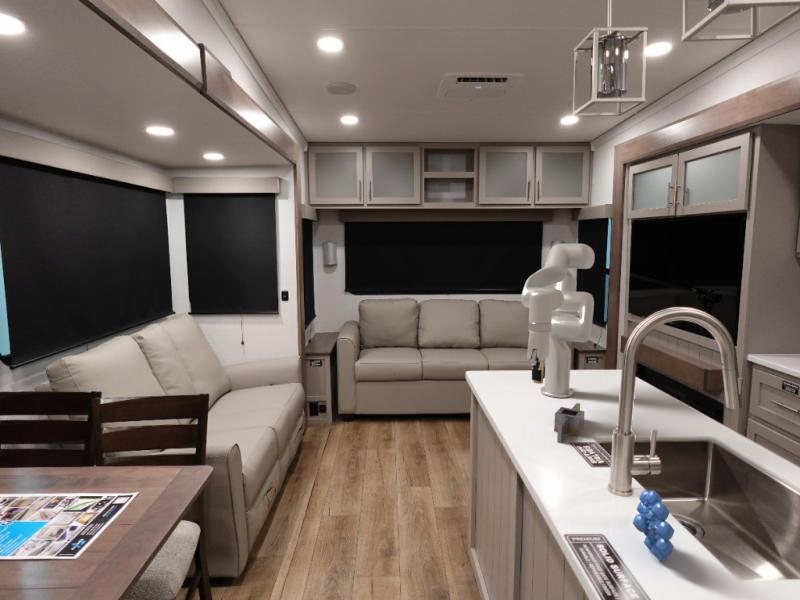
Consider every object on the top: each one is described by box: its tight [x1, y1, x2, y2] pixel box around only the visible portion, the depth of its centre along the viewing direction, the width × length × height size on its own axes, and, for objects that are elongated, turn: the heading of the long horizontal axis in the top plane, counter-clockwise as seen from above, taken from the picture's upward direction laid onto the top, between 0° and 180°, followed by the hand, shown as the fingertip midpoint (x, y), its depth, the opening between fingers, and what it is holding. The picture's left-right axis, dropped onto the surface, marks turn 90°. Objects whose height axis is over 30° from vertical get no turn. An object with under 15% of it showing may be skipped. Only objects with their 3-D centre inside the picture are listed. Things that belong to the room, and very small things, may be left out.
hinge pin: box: [532, 359, 544, 384], centre depth 163 cm, size 3×3×9 cm
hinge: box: [553, 402, 585, 444], centre depth 155 cm, size 24×8×6 cm, turn 146°
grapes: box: [632, 489, 675, 562], centre depth 94 cm, size 12×7×12 cm, turn 177°
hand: (538, 378), depth 164 cm, fingers closed on hinge pin, 3 cm apart
